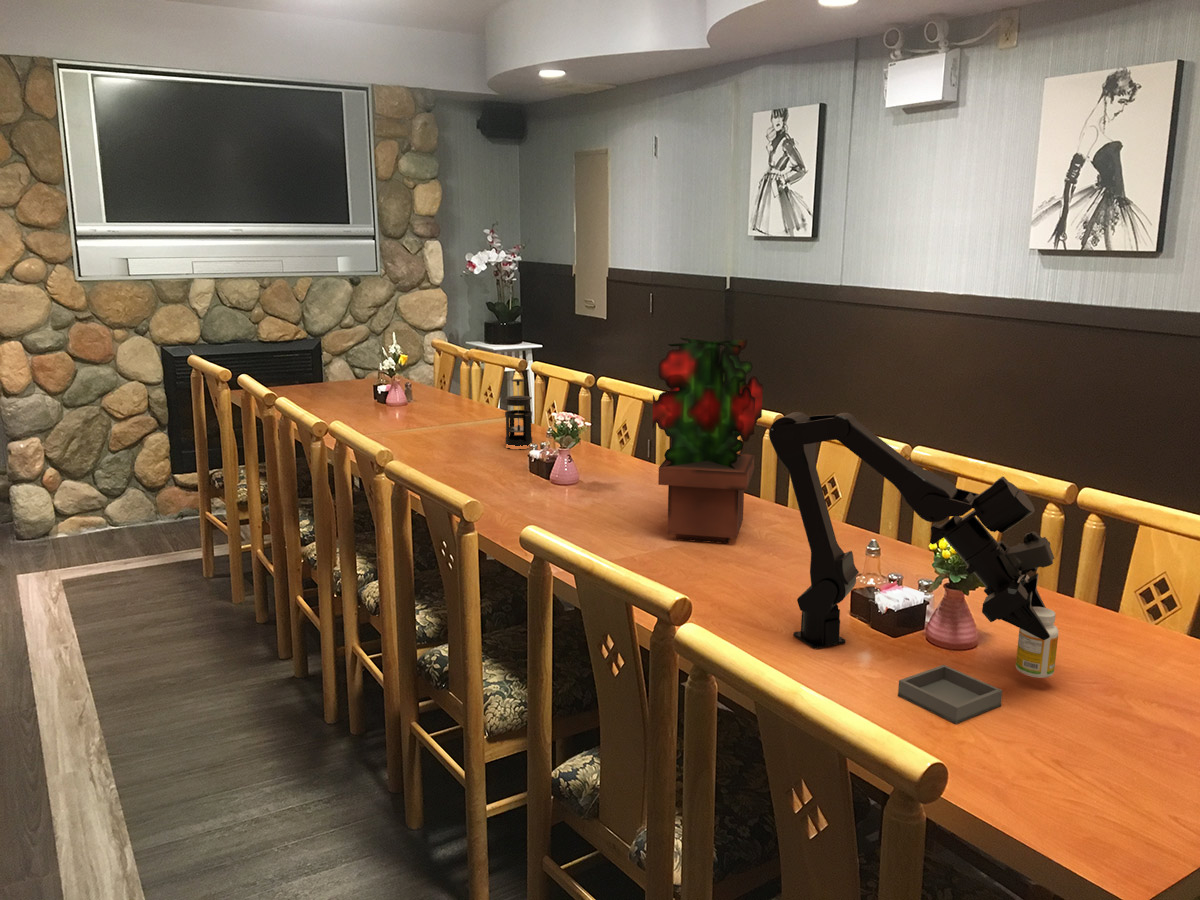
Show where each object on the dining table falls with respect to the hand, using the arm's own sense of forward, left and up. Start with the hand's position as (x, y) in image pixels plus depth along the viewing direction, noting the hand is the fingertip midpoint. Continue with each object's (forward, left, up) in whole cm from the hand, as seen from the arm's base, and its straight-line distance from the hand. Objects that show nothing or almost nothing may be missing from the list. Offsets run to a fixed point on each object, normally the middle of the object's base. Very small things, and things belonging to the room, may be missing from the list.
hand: (1049, 631), depth 142 cm
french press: (-200, -16, -9) cm, 201 cm away
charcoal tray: (-2, -17, -9) cm, 19 cm away
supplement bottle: (-1, -1, -7) cm, 7 cm away
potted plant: (-89, -8, -9) cm, 90 cm away
